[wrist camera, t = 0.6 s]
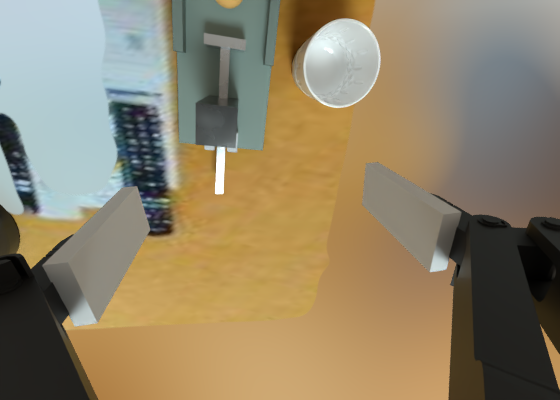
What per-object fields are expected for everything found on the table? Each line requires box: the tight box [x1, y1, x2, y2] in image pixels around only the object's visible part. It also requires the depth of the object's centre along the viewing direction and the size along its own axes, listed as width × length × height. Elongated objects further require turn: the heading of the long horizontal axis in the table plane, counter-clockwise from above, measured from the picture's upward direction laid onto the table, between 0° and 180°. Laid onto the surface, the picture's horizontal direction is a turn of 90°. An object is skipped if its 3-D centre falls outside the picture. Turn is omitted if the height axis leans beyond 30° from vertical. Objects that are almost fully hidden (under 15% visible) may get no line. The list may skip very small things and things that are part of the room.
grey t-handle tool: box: [195, 33, 246, 194], centre depth 29 cm, size 4×18×11 cm, turn 173°
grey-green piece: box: [172, 0, 280, 152], centre depth 29 cm, size 11×30×6 cm, turn 173°
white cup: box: [292, 18, 380, 108], centre depth 31 cm, size 8×8×10 cm
